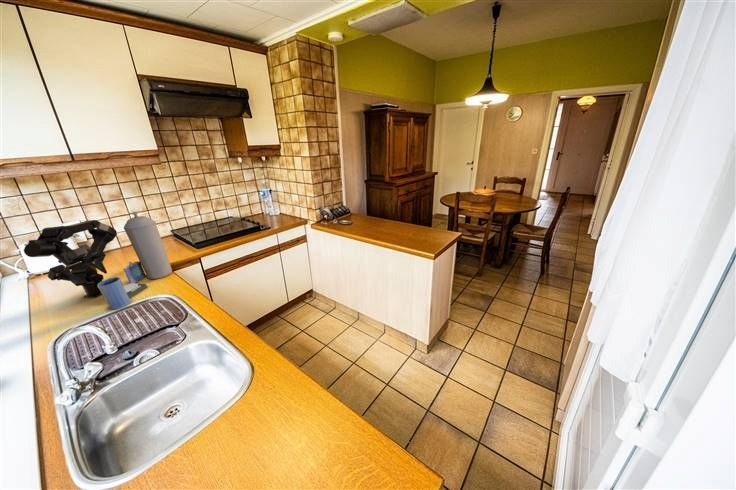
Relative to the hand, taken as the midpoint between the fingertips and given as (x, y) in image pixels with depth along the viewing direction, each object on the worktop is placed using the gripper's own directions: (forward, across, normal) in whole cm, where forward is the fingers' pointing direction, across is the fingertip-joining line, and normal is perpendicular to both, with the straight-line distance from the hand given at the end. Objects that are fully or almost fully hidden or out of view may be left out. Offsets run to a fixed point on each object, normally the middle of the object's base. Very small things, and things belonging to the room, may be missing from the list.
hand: (94, 277), depth 115 cm
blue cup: (+15, 0, +4) cm, 15 cm away
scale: (+10, +9, +8) cm, 16 cm away
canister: (+9, +26, +8) cm, 29 cm away
